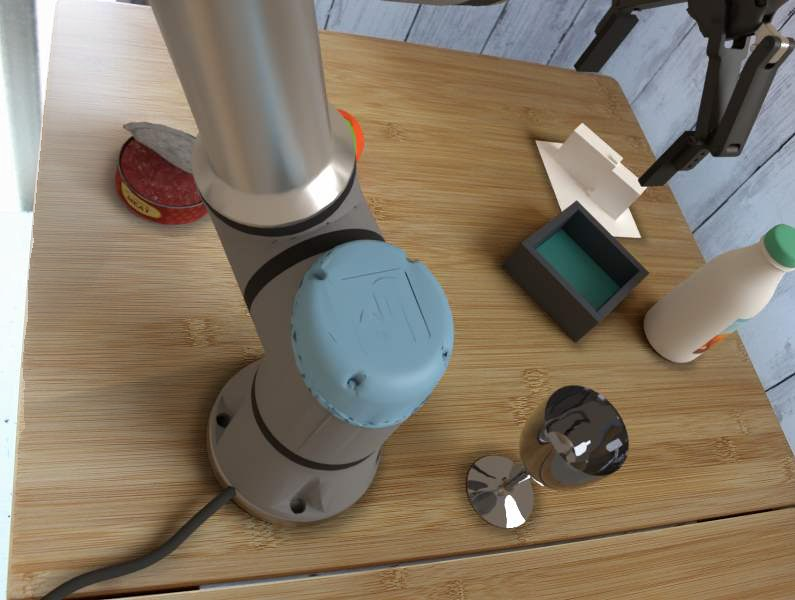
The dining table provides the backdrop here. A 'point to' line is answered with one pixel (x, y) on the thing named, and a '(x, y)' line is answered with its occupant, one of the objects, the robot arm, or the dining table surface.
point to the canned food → (158, 175)
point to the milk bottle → (720, 296)
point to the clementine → (354, 132)
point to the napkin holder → (592, 180)
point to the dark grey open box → (575, 270)
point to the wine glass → (551, 455)
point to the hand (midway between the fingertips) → (616, 124)
